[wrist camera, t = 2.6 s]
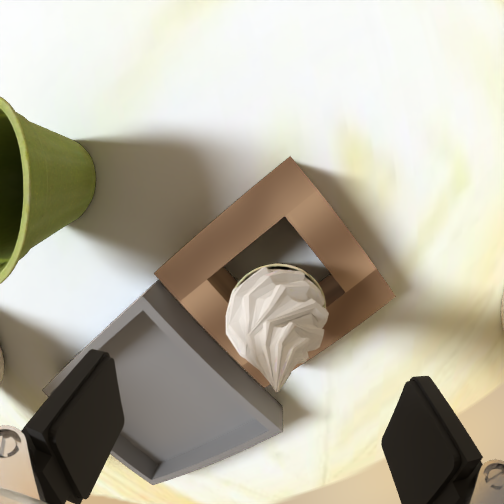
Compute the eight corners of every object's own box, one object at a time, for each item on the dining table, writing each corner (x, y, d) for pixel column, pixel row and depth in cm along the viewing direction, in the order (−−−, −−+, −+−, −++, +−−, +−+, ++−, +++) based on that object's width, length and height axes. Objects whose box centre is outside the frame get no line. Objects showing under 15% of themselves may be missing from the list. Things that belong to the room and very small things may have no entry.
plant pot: (146, 209, 24) (60, 239, 13) (49, 267, 26) (-35, 312, 15) (93, 84, 22) (1, 51, 11) (6, 158, 24) (-82, 165, 13)
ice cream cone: (289, 220, 24) (313, 299, 9) (321, 277, 24) (374, 410, 10) (230, 254, 24) (172, 368, 10) (264, 308, 25) (252, 458, 11)
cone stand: (376, 275, 24) (395, 296, 20) (265, 355, 26) (264, 388, 22) (287, 159, 22) (290, 156, 18) (173, 255, 25) (153, 273, 20)
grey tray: (282, 405, 28) (282, 431, 24) (160, 464, 31) (152, 485, 28) (158, 279, 25) (142, 295, 22) (58, 373, 29) (42, 390, 26)
